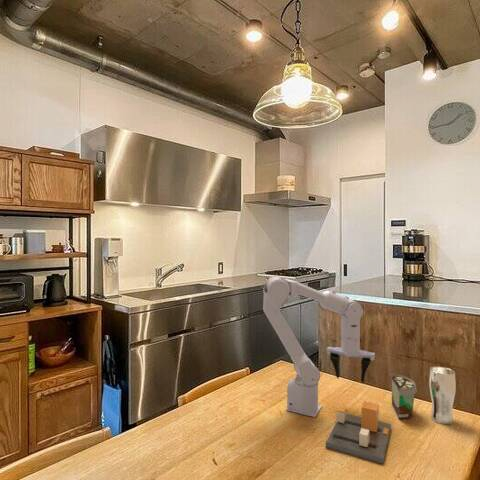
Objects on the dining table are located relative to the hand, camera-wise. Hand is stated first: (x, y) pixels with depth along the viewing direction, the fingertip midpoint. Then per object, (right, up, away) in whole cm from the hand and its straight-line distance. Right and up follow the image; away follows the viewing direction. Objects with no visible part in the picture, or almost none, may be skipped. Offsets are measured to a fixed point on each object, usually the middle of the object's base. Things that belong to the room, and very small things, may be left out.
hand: (350, 378), depth 115 cm
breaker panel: (-3, -10, -17) cm, 20 cm away
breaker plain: (-3, -8, -23) cm, 24 cm away
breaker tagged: (-6, -8, -11) cm, 15 cm away
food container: (+16, -10, -3) cm, 19 cm away
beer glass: (+26, -10, -7) cm, 28 cm away
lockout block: (+1, -8, -15) cm, 17 cm away
